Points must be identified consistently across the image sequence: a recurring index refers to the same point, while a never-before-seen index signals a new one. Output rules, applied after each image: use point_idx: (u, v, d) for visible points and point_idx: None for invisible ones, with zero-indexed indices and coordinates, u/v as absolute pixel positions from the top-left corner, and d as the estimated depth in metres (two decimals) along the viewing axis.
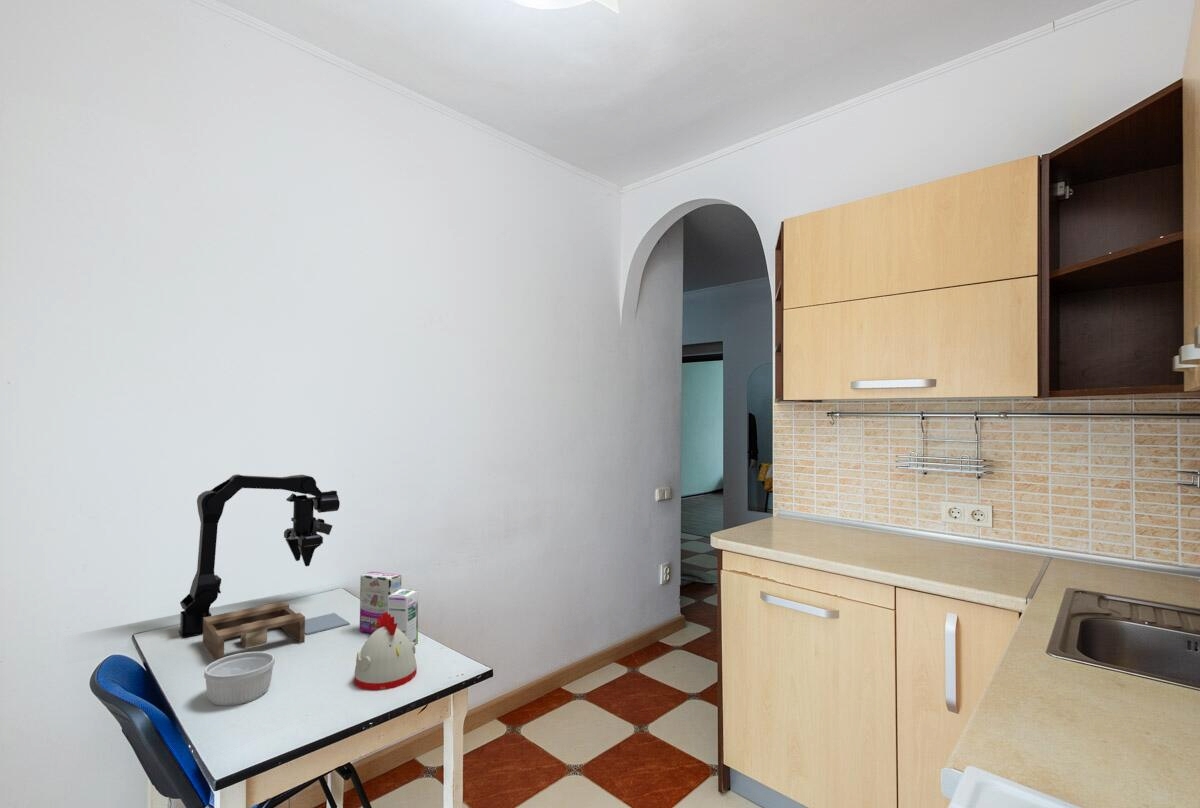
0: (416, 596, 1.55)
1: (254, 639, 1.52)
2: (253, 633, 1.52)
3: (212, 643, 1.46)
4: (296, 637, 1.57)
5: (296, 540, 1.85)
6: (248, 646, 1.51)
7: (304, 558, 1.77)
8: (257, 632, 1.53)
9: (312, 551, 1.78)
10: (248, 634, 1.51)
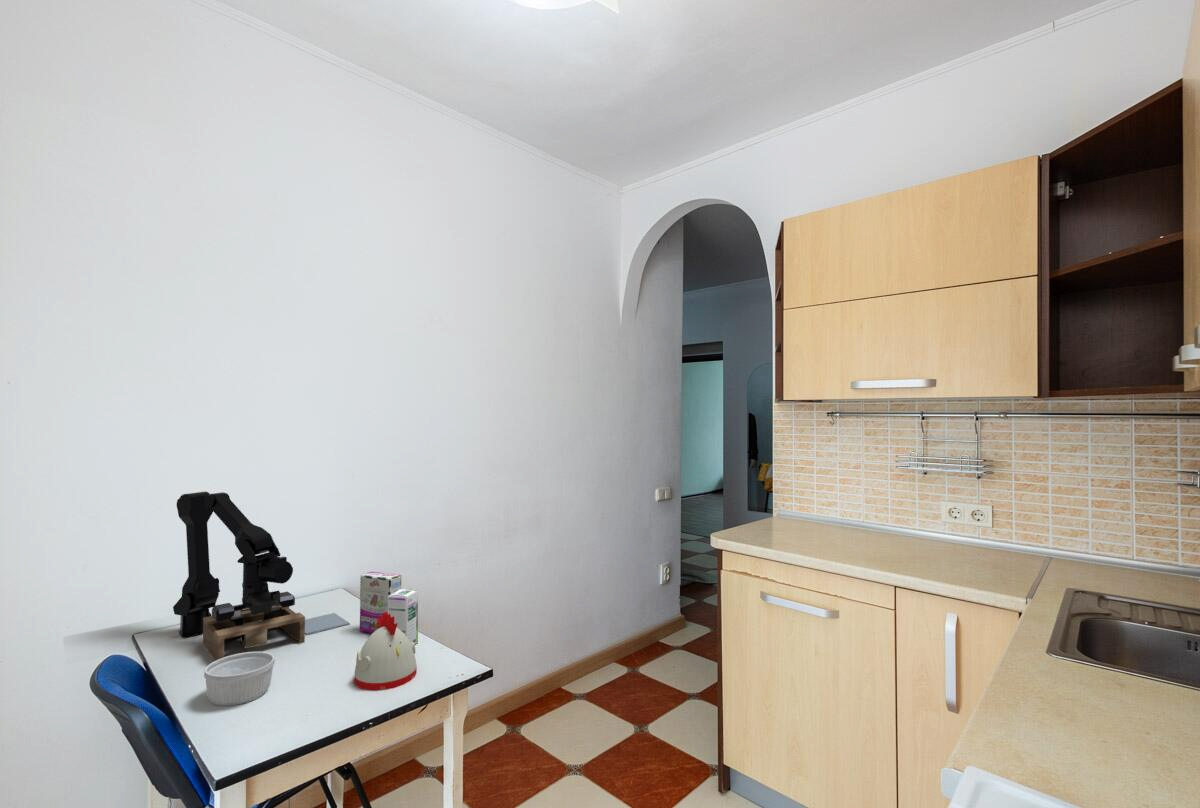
0: (416, 596, 1.55)
1: (254, 639, 1.52)
2: (253, 633, 1.52)
3: (212, 643, 1.46)
4: (296, 637, 1.57)
5: None
6: (248, 646, 1.51)
7: None
8: (257, 632, 1.53)
9: None
10: (248, 634, 1.51)
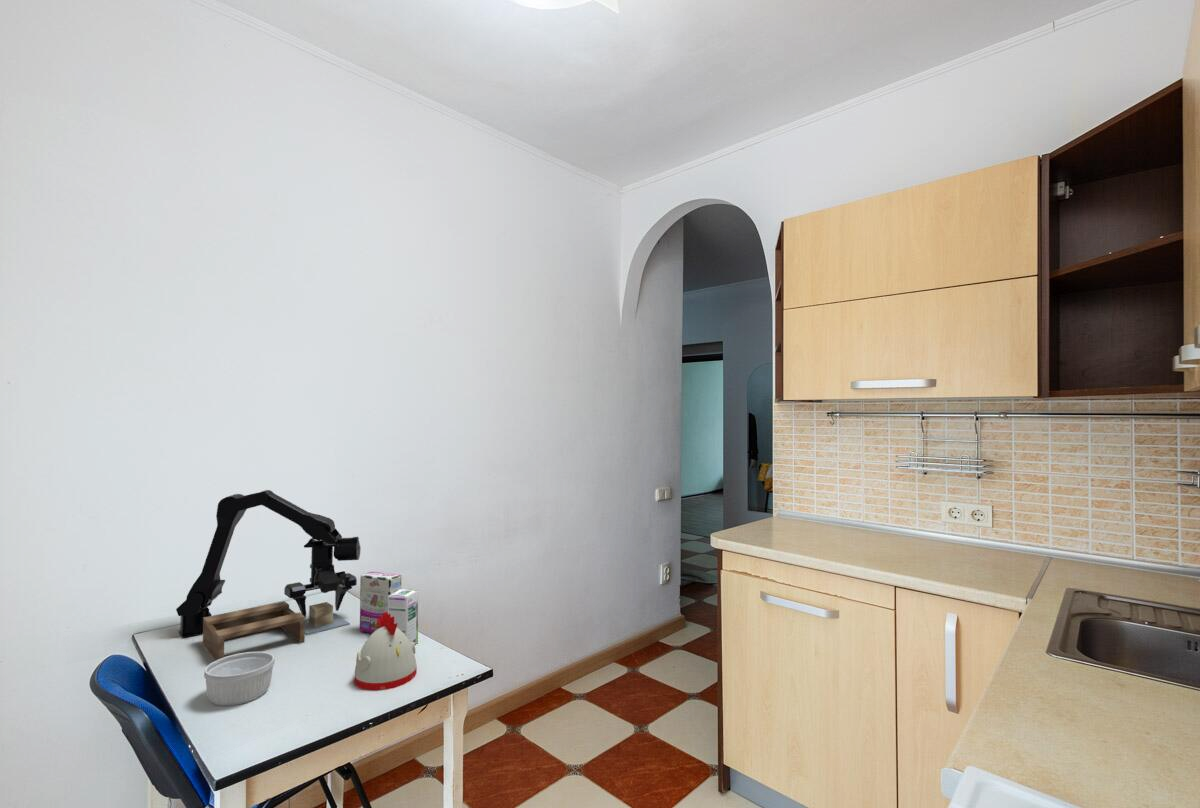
0: (416, 596, 1.55)
1: (322, 619, 1.67)
2: (321, 613, 1.66)
3: (212, 643, 1.46)
4: (296, 637, 1.57)
5: (338, 588, 1.73)
6: (317, 625, 1.65)
7: (299, 608, 1.66)
8: (324, 612, 1.67)
9: None
10: (317, 614, 1.66)
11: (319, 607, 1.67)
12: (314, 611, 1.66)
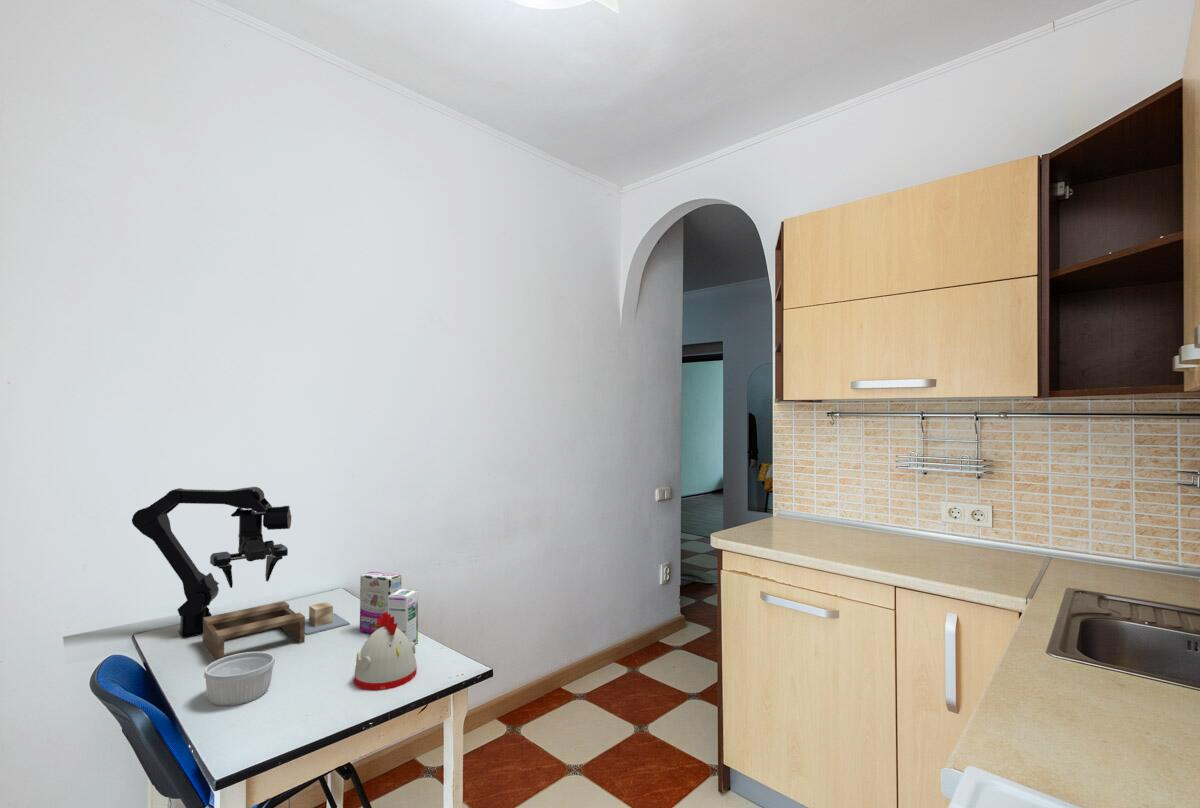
0: (416, 596, 1.55)
1: (322, 619, 1.67)
2: (321, 613, 1.66)
3: (212, 643, 1.46)
4: (296, 637, 1.57)
5: (269, 558, 1.70)
6: (317, 625, 1.65)
7: (226, 577, 1.63)
8: (324, 612, 1.67)
9: None
10: (317, 614, 1.66)
11: (319, 607, 1.67)
12: (314, 611, 1.66)
